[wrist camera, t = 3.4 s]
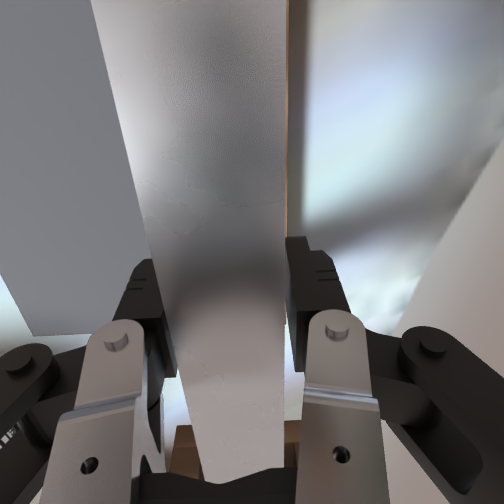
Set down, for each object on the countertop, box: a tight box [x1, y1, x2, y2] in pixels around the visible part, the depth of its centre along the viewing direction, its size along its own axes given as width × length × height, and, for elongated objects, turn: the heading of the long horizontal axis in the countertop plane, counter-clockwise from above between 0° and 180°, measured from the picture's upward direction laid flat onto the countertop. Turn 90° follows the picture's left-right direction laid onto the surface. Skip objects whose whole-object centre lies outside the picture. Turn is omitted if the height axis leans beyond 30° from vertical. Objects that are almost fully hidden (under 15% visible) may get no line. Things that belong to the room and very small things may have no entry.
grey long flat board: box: [0, 0, 152, 336], centre depth 23 cm, size 32×12×1 cm, turn 3°
